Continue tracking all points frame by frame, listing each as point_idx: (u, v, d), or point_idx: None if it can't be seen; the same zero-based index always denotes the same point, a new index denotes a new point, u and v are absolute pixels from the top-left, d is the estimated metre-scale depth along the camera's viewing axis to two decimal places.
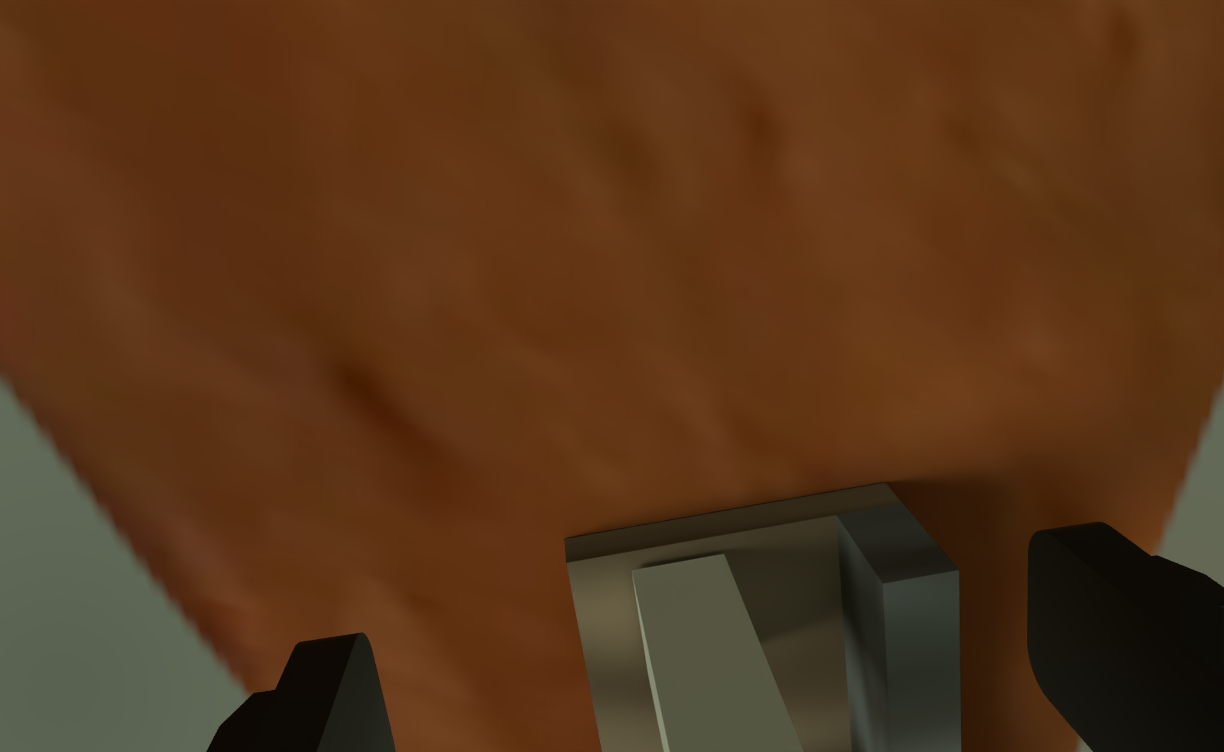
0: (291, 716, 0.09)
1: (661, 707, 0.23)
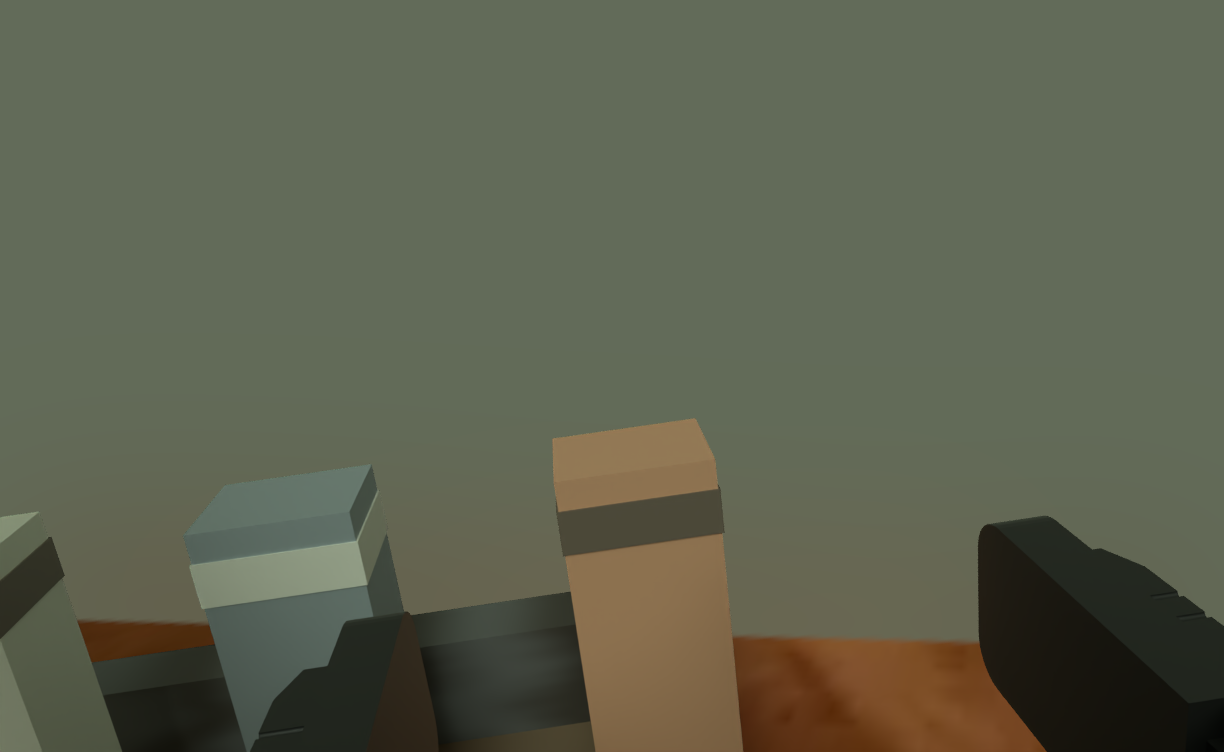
0: (346, 688, 0.09)
1: None
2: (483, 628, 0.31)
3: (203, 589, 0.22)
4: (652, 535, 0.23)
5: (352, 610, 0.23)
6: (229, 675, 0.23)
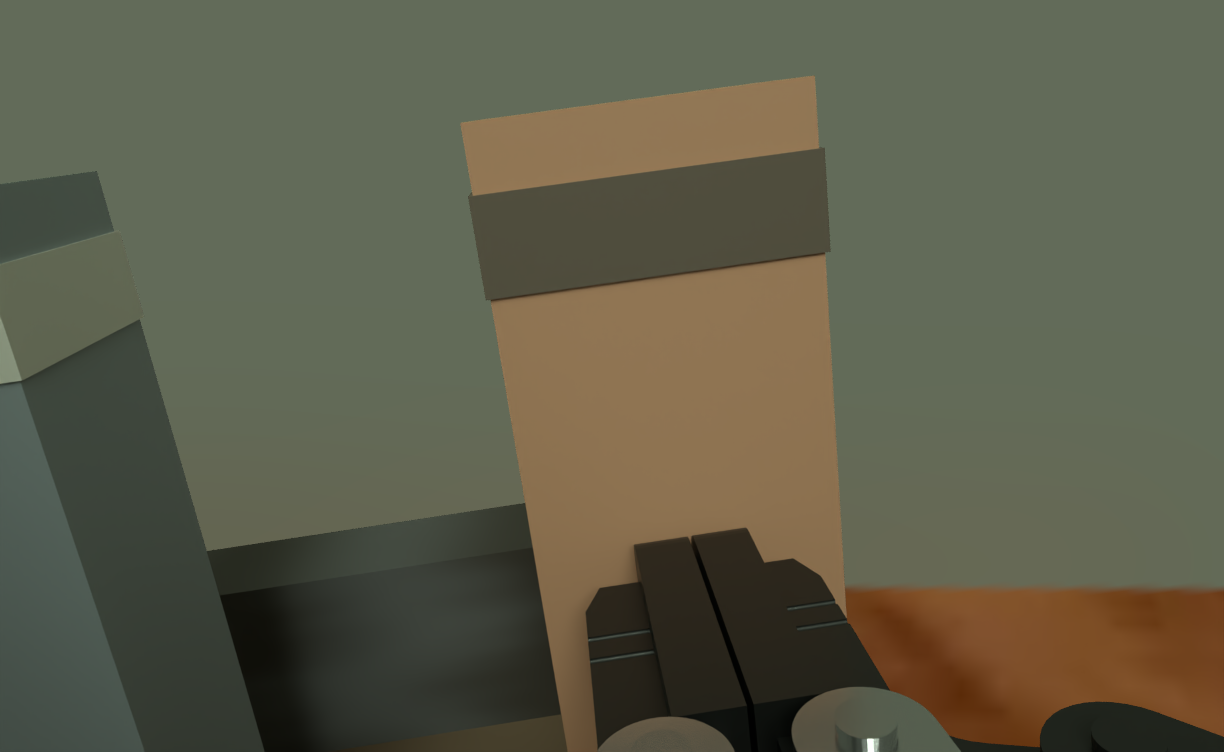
0: (672, 596, 0.10)
1: None
2: (385, 556, 0.19)
3: None
4: (677, 255, 0.10)
5: None
6: None
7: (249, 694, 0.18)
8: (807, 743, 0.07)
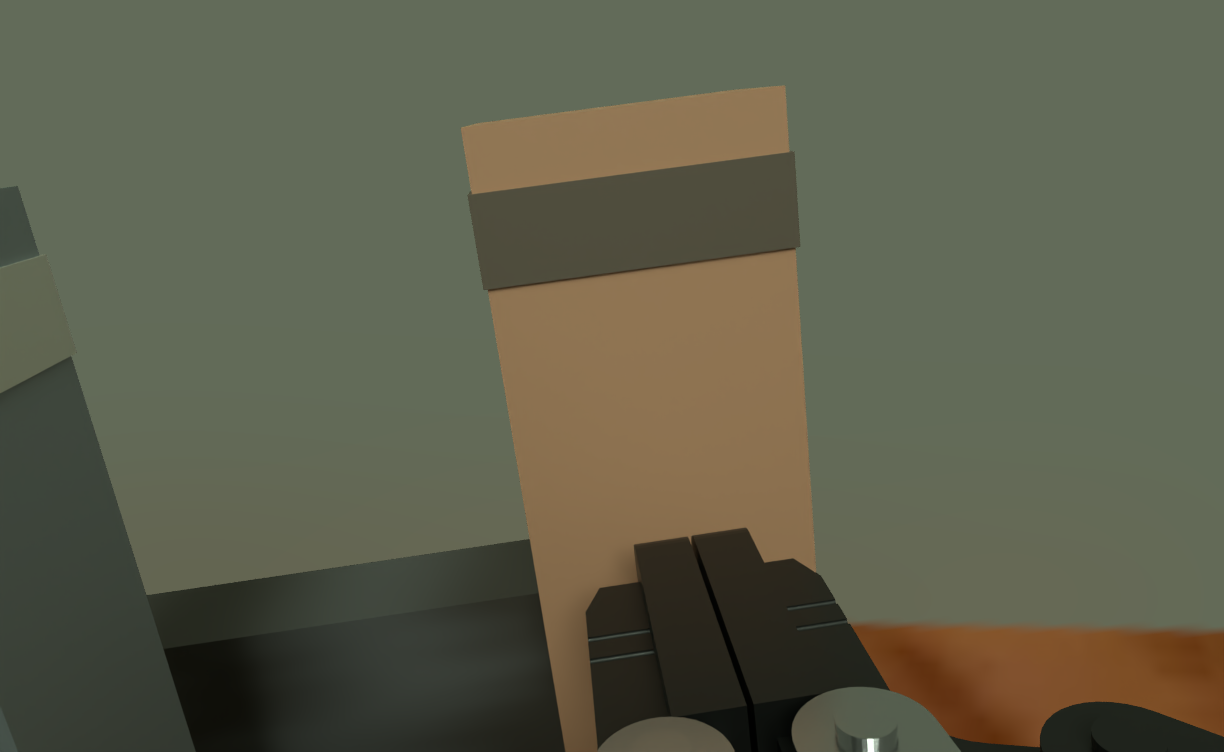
0: (672, 595, 0.10)
1: None
2: (366, 601, 0.17)
3: None
4: (659, 249, 0.11)
5: None
6: None
7: None
8: (807, 743, 0.07)
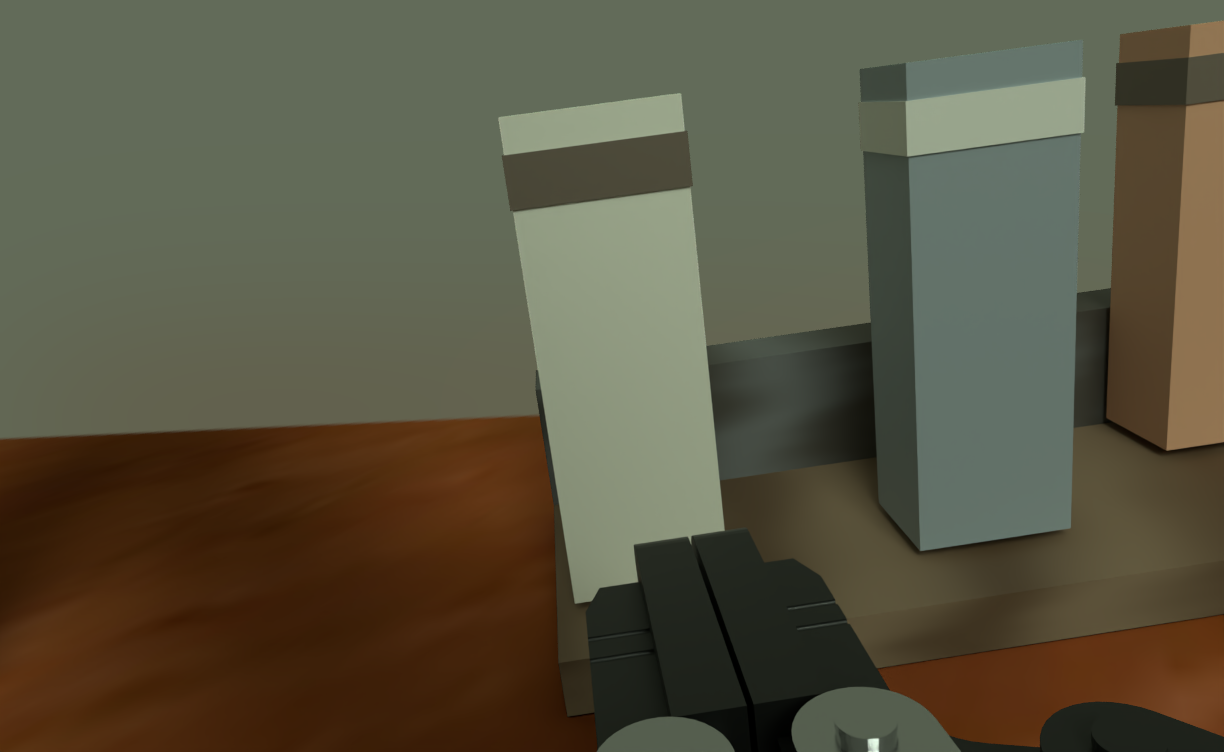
0: (672, 596, 0.10)
1: (537, 364, 0.21)
2: None
3: (915, 130, 0.20)
4: None
5: (1060, 165, 0.21)
6: (917, 242, 0.21)
7: None
8: (807, 744, 0.07)
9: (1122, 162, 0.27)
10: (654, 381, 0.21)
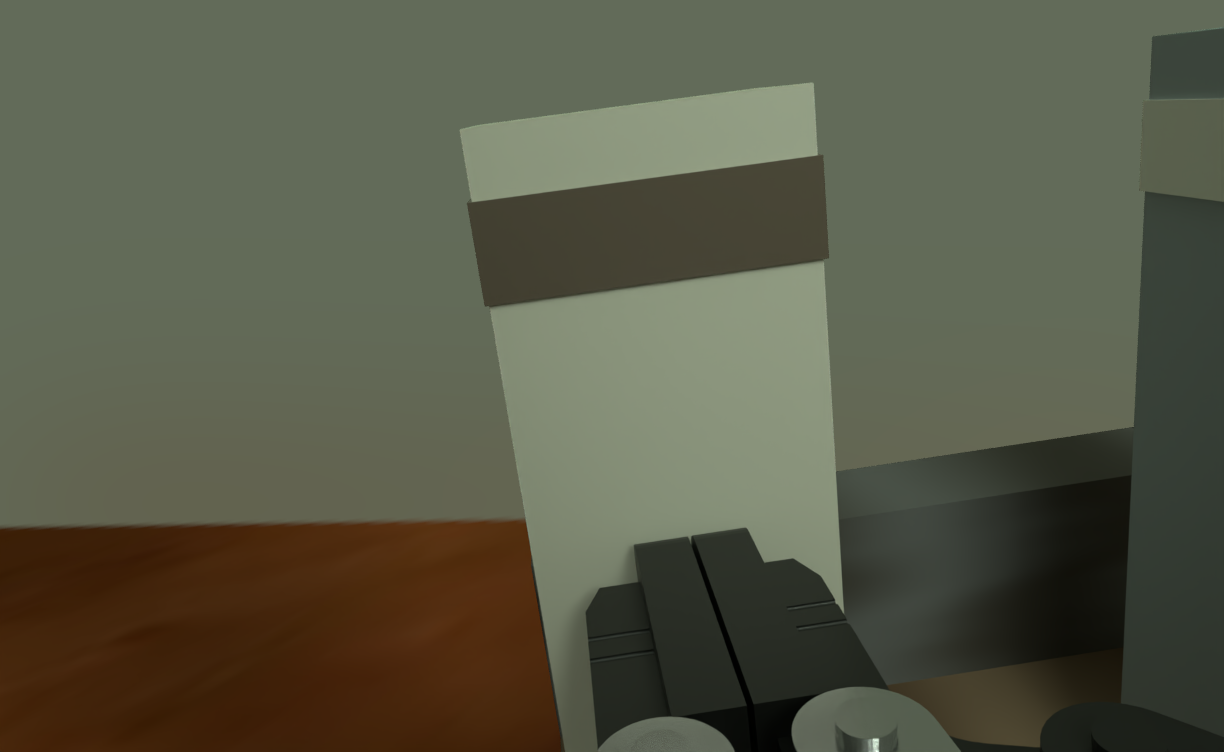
0: (672, 596, 0.10)
1: (536, 575, 0.12)
2: None
3: None
4: None
5: None
6: None
7: (1112, 580, 0.19)
8: (807, 744, 0.07)
9: None
10: None
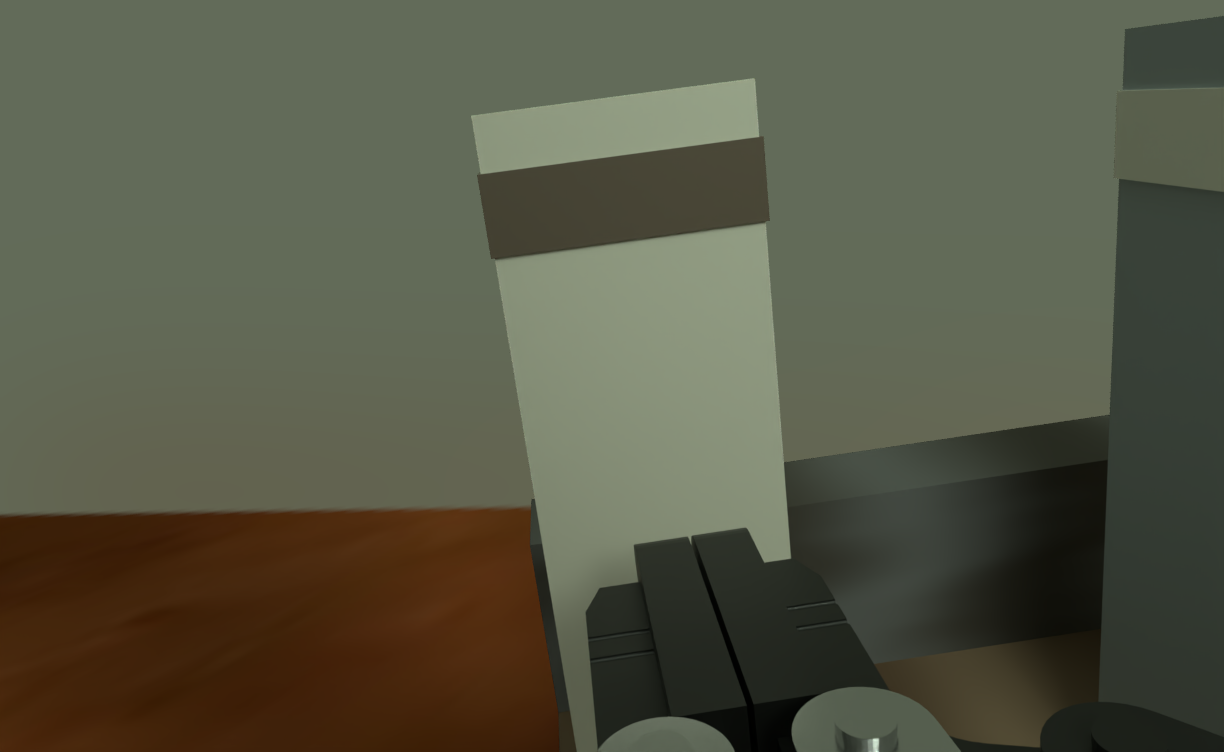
0: (672, 596, 0.10)
1: (533, 483, 0.14)
2: None
3: None
4: None
5: None
6: None
7: (1097, 561, 0.19)
8: (806, 743, 0.07)
9: None
10: (705, 506, 0.14)
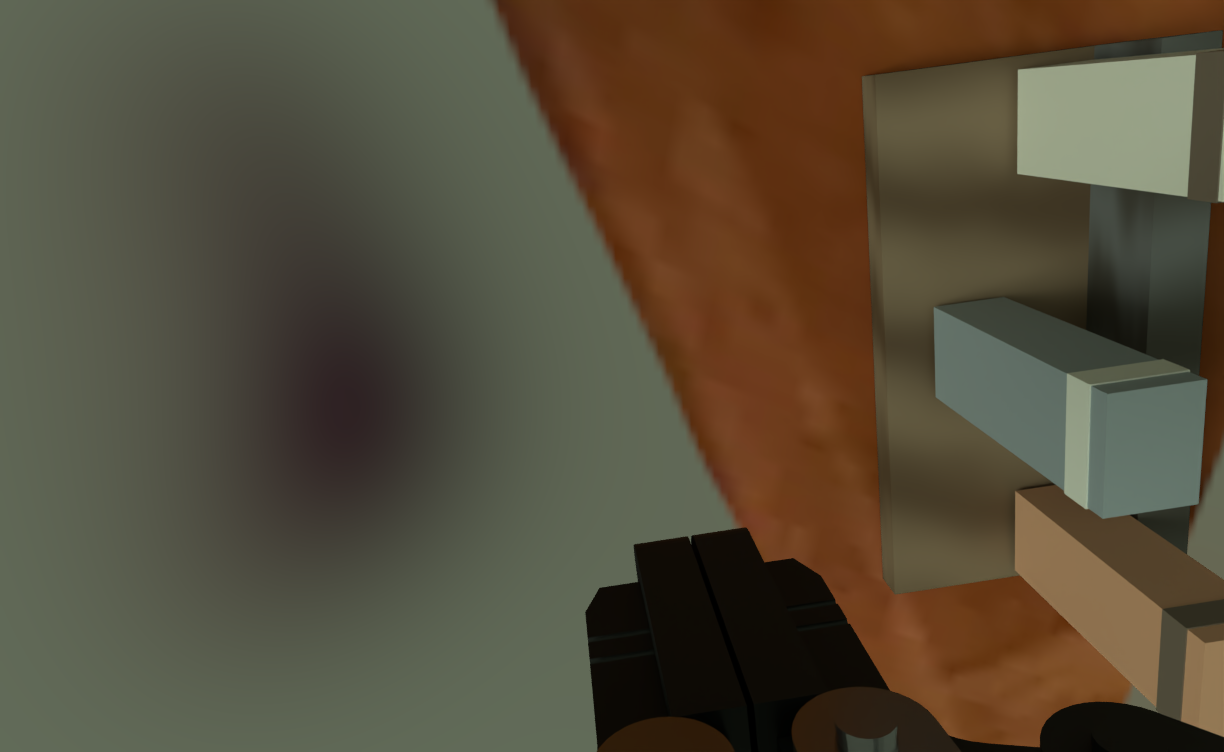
0: (672, 596, 0.10)
1: (1119, 61, 0.29)
2: None
3: (1076, 384, 0.27)
4: (1162, 669, 0.31)
5: (1054, 470, 0.30)
6: (1034, 361, 0.30)
7: None
8: (806, 743, 0.07)
9: (1204, 574, 0.32)
10: (1101, 145, 0.30)
